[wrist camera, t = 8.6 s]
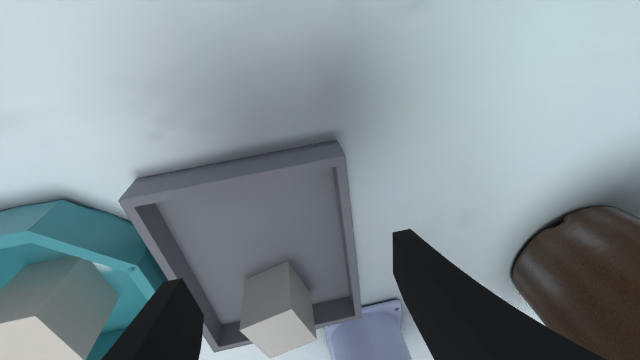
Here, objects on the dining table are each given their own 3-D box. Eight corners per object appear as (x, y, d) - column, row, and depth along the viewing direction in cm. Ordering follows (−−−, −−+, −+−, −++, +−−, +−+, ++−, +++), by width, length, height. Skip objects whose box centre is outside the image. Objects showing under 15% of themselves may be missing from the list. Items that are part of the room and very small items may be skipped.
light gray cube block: (310, 291, 25) (316, 339, 21) (270, 308, 26) (270, 358, 22) (288, 261, 23) (291, 308, 19) (244, 279, 23) (239, 330, 19)
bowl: (203, 311, 25) (195, 349, 22) (46, 346, 24) (17, 389, 22) (128, 184, 18) (102, 215, 15) (-94, 228, 17) (-165, 268, 15)
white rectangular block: (119, 296, 22) (85, 360, 18) (67, 308, 22) (19, 375, 18) (84, 253, 20) (35, 316, 15) (25, 265, 19) (-42, 332, 15)
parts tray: (355, 294, 27) (362, 318, 25) (218, 325, 26) (213, 352, 24) (336, 140, 19) (345, 156, 17) (136, 178, 18) (117, 200, 16)
